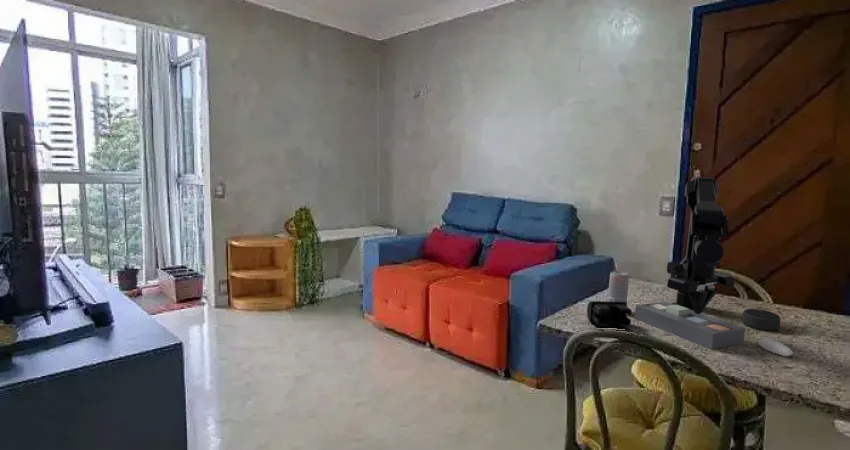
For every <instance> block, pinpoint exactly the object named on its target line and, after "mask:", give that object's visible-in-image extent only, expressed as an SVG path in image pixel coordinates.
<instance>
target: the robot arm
mask: <svg viewBox="0 0 850 450" xmlns="http://www.w3.org/2000/svg"><path fill="white" fill-rule="evenodd" d="M719 185H720V183H719V182H717V181H716V178H714V177H701V176H699V177H695V178H694V179H693V180H689V181H686V185H685V186H684V187H685V189H684V197H686V203H687V205H688V207H689V209H690V216H689V224H688V225H689V226H688V234H687V235H688V236H687V242H686V243H687V245H686V254H685V256H684V257H683V259H682V260H681V261H680V262H679V263H678V261H669V262H667V265H666V272H667V273H668V274H669V275H671V277H669V278H668V279H667V281H666V288H667V289H672V290H674V291H677V293H676V302H672V304H675V305H679V306H682V307H685V308H688V309H690V310H693V311H694V312H695V313H696V314H702V313H703V312H704V309H705V308H706V306H707V305H708V304H709V303H710V301H712V299H713V298H714V297H715V295H717V293H719V292H720V289H718V288H715V285H717V284H720V285H723V286H724V287H725V288H727V289H729V288H735V287H734V286H735V279H734V277H733V276H732V275H728V274H724V273H719V272H716V267H719V266H721V264H720V263H721V262H720V260H721V259H723V257H724V249H723V247H722V244H721V243H720V241H719V240H720V238H723V239H726V238H727V235H729V232H730V231H729V218H728V217H727V214H725V212H724V210H723V206H721V205H719V204H718V203H717V200H716V199H717V198H718V196H719V190H720V189H719V187H720V186H719Z"/></svg>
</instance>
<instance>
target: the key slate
mask: <svg viewBox="0 0 850 450" xmlns="http://www.w3.org/2000/svg"><path fill="white" fill-rule="evenodd" d="M685 319H688V320H690V321H693V322H696V323H699V324H700V323H706V322H709V321H707V320H704V319H701V318H698V317H689V318H685Z"/></svg>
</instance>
